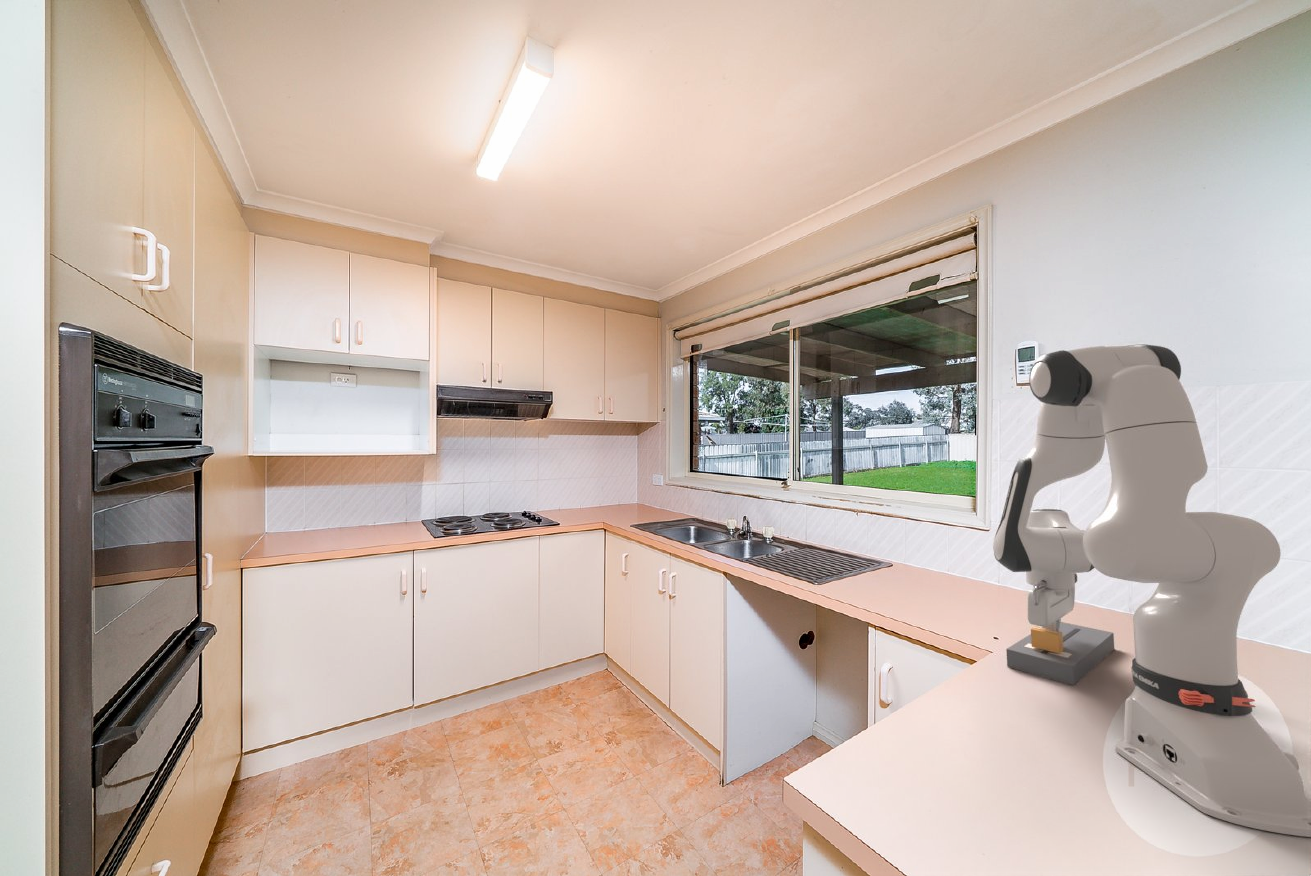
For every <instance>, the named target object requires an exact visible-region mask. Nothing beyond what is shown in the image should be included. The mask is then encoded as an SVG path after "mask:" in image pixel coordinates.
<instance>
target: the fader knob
mask: <svg viewBox="0 0 1311 876" xmlns="http://www.w3.org/2000/svg"><path fill="white" fill-rule="evenodd" d="M1041 627H1042V626H1037V625H1034V626H1033V627H1032V628H1030V634H1031V643H1032V647H1035V648H1039V649H1043V650H1047V651H1051V652H1055V653H1060V652H1062V651H1063V634H1062V632H1059V631H1055V630H1050V629H1046V628H1041Z"/></svg>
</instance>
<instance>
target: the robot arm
mask: <svg viewBox="0 0 1311 876" xmlns="http://www.w3.org/2000/svg"><path fill="white" fill-rule="evenodd" d="M1181 375H1182V365H1181V362H1180V359H1179V358H1178V355H1176V353H1174V351H1172V350H1171V349H1170V348H1167V347H1165V346H1161V345H1152V344H1137V345H1116V346H1105V345H1104V346H1103V345H1100V346H1099V345H1097V346H1091V347H1090V346H1089V347H1084V348H1083V347H1082V348H1076V349H1071V350H1056V351H1052V352H1049V353H1046V354H1044V355H1041V356H1040V357H1038V358H1037V359H1036V360H1035V362H1034V363H1033V365H1032V367H1031V369H1030V372H1029V378H1028V379H1029V380H1028V381H1029V387H1030V391H1031V392H1032V395H1033V396H1034V397H1035V398H1036V399H1037V400H1038V401H1039V402H1040V405H1039V411H1038V415H1037V416H1038V417H1037V425H1036V436H1035V437H1036V438H1035V441H1034V444H1033V446H1032V448H1031V450H1030V451H1029V452H1028V454H1027V455H1025V456H1024V457H1021V458H1019V459H1018V461H1017V462H1016V465H1015V467H1014V470H1013V472H1012V475H1011V480H1010V481H1009V482H1010V483H1009V486H1008V491H1007V495H1006V498H1005V503H1004V507H1003V511H1002V515H1001V519H1000V522H999V525H998V527H997V529H996V533H995V535H994V538H993V544H992V545H993V546H992V548H993V554H994V558H995V560H996V561H997V562H998V563H999V564H1000V565H1002V566H1003V567H1005V569H1008V570H1009V571H1011V572H1012V573H1025V575H1026V583H1027V584H1029V585H1031V586H1032V587H1033V588H1032V589H1030V590H1029V591H1028V594H1027V621H1028V623H1029V624H1030V625H1033V626H1037V627H1045V628H1046V629H1050V630H1055V631H1059V628H1060V623H1061V622H1062V618H1063V617H1065V616H1066V615H1068V614H1069V613H1071V612H1072V611H1073V610H1074V608H1075V600H1076V598H1075V597H1076V583H1078V574H1081V573H1089V572H1091V571H1092V570H1094V569H1096V570H1097V572H1099V573H1100V574H1103V575H1104V576H1106V577H1109V578H1112V579H1117V580H1122V581H1128V582H1135V583H1140V584H1158V585H1157V587H1156V590H1155V591H1154V593H1153V594H1152V596H1151V597H1150V598H1149V599H1147V600H1146V601H1145V602H1144V603H1142V604H1140V606H1138V607H1137V608H1136V610H1135V611H1134V614H1133V616H1132V625H1133V641H1134V658H1133V659H1132V661H1131V662H1132V663H1131V667H1130V668H1131V669H1130V670H1131V674H1132V682H1133V683H1134V685H1135V687H1134V689H1133V691H1132V693H1131V694H1130V695H1129V696H1128V697H1127V698H1126V700H1125V704H1124V706H1125V707H1124V724H1123V740H1121V741H1118V742H1115V748H1114V750H1115V752H1116V753H1117V754H1118V755H1120V756H1121V757H1124V759H1126V760H1127V761H1129V762H1130V763H1132V764H1133V765H1134V766H1136V767H1137V768H1139V769H1140V770H1141V771H1143V772H1144V773H1146V774H1147V775H1148V776H1150V777H1151V778H1153V780H1154V779H1155V780H1156V781H1157V782H1159V783H1160V784H1161V785H1162V786H1164V787H1166V788H1167V789H1169V790H1170V791H1172V793H1174V794H1176V796H1179V797H1180V798H1181V799H1183V800H1184V801H1185V802H1187V803H1188V804H1190V805H1191V806H1193V807H1194V808H1196V809H1197V810H1198V811H1200V812H1202V813H1203V814H1205V815H1209V816H1211V817H1214V818H1216V819H1219V820H1222V821H1225V822H1229V823H1232V824H1235V825H1239V826H1243V827H1248V828H1251V829H1256V830H1257V829H1258V830H1261V831H1266V832H1271V833H1276V834H1277V833H1278V834H1283V835H1290V836H1291V835H1292V836H1298V837H1309V838H1311V799H1308V798H1307V797H1306V793H1305V787H1304V782H1303V779H1302V776H1301V775H1300V772H1299V770H1300V764H1299V762H1298V760H1297V759H1296V757H1295V756H1294V755H1293V754H1292V753H1290V752H1287V751H1286V752H1284V751H1282V750H1281V748H1280V747H1279V746H1278V745H1277V744H1276V743H1275V741H1274V739H1272V737H1271V736H1270V735H1269V734H1268V733H1267V732H1266V730H1265V729H1264V728H1263V727H1262V726H1261V724H1259V722H1258V720H1256V718H1255V717H1254V715H1253V714H1252V713H1253V708H1256V705H1254V704H1251V703H1253V702H1256V700H1255V699H1254V698H1249V694H1248V692H1247V691H1246V689H1245V686H1244V685H1243V682H1242V680H1240V679H1239V672H1238V671H1239V669H1238V650H1237V649H1238V648H1237V646H1238V644H1237V642H1238V641H1237V639H1238V638H1237V634H1238V626H1239V621H1240V618H1241V615H1242V613H1243V609H1244V607H1245V605H1246V603H1247V600H1248V598H1249V596H1250V594H1251V592H1252V591H1253V589H1254V588H1255V587H1256V585H1257V584H1258V582H1260V580H1262V578H1263V577H1265V576H1266V575H1268V574H1270V572H1272V571H1273V570H1274V569H1276V567H1278V564H1279V562H1280V560H1281V553H1282V552H1281V548H1280V547H1281V546H1280V543H1279V542H1278V539H1277V538H1276V536H1275V535H1274V534H1273V532H1272V531H1271V530H1269V528H1267V527H1266V526H1265V525H1263V524H1262V523H1260V522H1259V521H1256V520H1255V519H1251V518H1248V517H1244V516H1239V515H1235V514H1234V515H1233V514H1228V513H1222V512H1217V511H1215V512H1214V511H1194V512H1187V511H1186V507H1187V506H1186V505H1187V500H1188V496H1189V493H1190V490H1191V488H1192V487H1193V486H1194V485H1195V484H1196V483H1198V482H1200V481H1201V480H1202V479H1203V478H1204V477H1205V476H1206V475H1207V473H1208V463H1207V457H1206V455H1205V451H1204V447H1203V443H1202V438H1201V435H1200V431H1199V427H1198V422H1197V421H1196V415H1195V413H1194V409H1193V407H1192V404H1191V402H1190V399H1189V397H1188V395H1187V392H1186V391H1185V388H1184V386H1183V385H1182V383H1181V381H1180V379H1181ZM1105 446H1106V447H1107V452H1108V460H1109V466H1110V471H1111V472H1110V473H1111V474H1110V475H1111V483H1110V484H1111V485H1110V491H1109V495H1108V498H1107V501H1106V503H1105V506H1104V508H1103V509H1102V511H1101V513H1100V514H1099V515H1098V516H1097V517H1096V518H1095V519H1093V521H1092V522H1091V523H1089V524H1088V526H1087V527H1086V528H1085V530H1084V529H1080V528H1078V527H1076V525H1074V524H1073V523H1072V522H1071V520H1070V517H1069V514H1068V512H1067V511H1064V510H1062V509H1055V508H1052V509H1051V508H1043V509H1039V508H1037V509H1032V507H1033V503H1034V498H1036V497H1035V496H1036V495H1037V494H1038V492H1040V491H1041V490H1042V489H1044V488H1045V487H1048V486H1050V485H1052V484H1055V483H1057V482H1061V481H1064V480H1067V479H1071V478H1074V477H1077V476H1080V475H1082V474H1084V473H1086V472H1088V471H1090V470H1092V469H1093V468H1094V467H1096V466H1097V465H1098V463H1100V461H1101V460H1102V458H1103V456H1104V452H1105Z"/></svg>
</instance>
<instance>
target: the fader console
mask: <svg viewBox="0 0 1311 876" xmlns="http://www.w3.org/2000/svg"><path fill="white" fill-rule="evenodd" d="M1040 627H1041V628H1045V627H1042V626H1040ZM1059 632H1062V634H1063V651H1062V652H1060V653H1055V652H1051V651H1047V650H1043V649H1039V648H1035V647H1032V643H1031V633H1030V634H1028V635H1026V636H1025V637H1024V638H1023V637H1022V638H1021V639H1020V640H1019V641H1017V642H1015V643H1014V644H1012V645H1011V646H1009V647H1007V648H1006V649H1005V650H1006V666H1007V668H1011V669H1014V670H1018V671H1022V672H1025V673H1028V674H1032V675H1036V676H1039V677H1043V678H1045V679H1049V680H1054V681H1056V682H1060V683H1063V684H1067V685H1069V686H1074V687H1075V686H1076V685H1077V684H1078V683H1079V682H1080V681H1081V680H1083V678H1084V677H1086V676H1087V675H1088V673H1090V672H1091V671H1092V670H1093V669H1094V668H1095V667H1096V666H1098V665H1099V664H1100V663H1101V662H1102V661H1103V660H1104V659H1105V658H1106V657H1108V655H1110V654H1111V653H1112V652H1113V651H1115V635H1114V634H1115V633H1114V632H1112V631H1107V630H1104V629H1103V630H1101V629H1097V628H1093V627H1092V628H1091V627H1087V626H1082V625H1077V624H1073V623H1068V622H1064V621H1061V623H1060V628H1059Z"/></svg>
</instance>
